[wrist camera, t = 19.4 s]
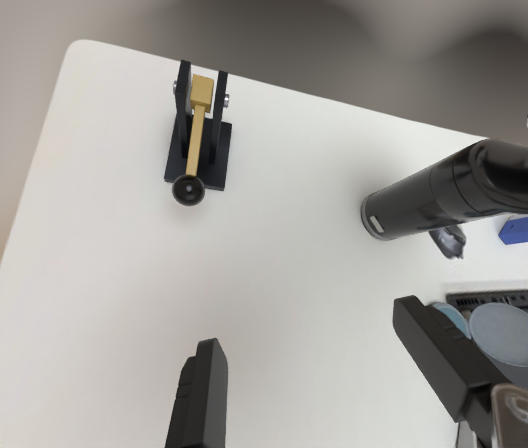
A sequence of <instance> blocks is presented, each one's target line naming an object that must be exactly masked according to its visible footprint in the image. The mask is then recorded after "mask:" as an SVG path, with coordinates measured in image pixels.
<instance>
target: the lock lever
mask: <svg viewBox="0 0 528 448" xmlns="http://www.w3.org/2000/svg"><path fill="white" fill-rule="evenodd" d="M213 85H214V80H213V79H210V78H206V77H203V76H199V75H195V74H193V80H192V87H191V94H190V104H191V109H194V117H193V124H192V131H191V139H190V146H189V153H188V160H187V168H186V174H185V175H182V176H179V177H178V178H177V179H176V180H175V181H174V183H173V185H172V194H173V196H174V198H175V200H176V201H177V202H178V203H180V204H182V205H184V206H194V205H197V204H198V203H200V202H201V201H202V200H203V198H204V195H205V186H204V184H203V182H202V181H201V180H200V179H199V178H198V177H197V176H196V174H197V167H198V159H199V152H200V145H201V138H202V130H203V123H204V116H205V112H207V113H210V110H211V103H212V96H213Z"/></svg>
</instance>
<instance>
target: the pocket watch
mask: <svg viewBox="0 0 528 448" xmlns="http://www.w3.org/2000/svg"><path fill="white" fill-rule="evenodd" d="M432 306H433V307H435V308H437V309H438V310H440V311H441V312H443V313H445V314H446V315H447V316H448V317H449V318H450V319H451V320H452V321H453V323H454V324H455V325H456V327H457V328H459V329H460V330H461V331H462V332H463V333H464V334H465V336H466V337H467V338H469V339H470V340H471V335H472V337H473V339H474V341H475V342H476V343H477V345H478V346H479V347H480V348H481V349H482V350H483V351H484V352H486V353H487V354H488V355H490V356H491V357H493V358H495V359H497V360H499V361H501V362H503V363H506V364H509V365H513V366H528V313H526V312H525V311H523V310H521V309H519V308H517V307H514V306H511V305H508V304H503V303H487V304H483V305H480V306H479V307H477V308H476V309H474V310H473V312H472V313H471V315H470V317H469V324H468V321H467V319H464V317H463V316H462V315H461V313H460V312H459V311H458V310H457V309H455V308H454V307H453V306H451V305H449V304H447V303H435V304H433V305H432ZM470 333H471V334H470Z"/></svg>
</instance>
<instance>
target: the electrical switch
mask: <svg viewBox="0 0 528 448" xmlns="http://www.w3.org/2000/svg"><path fill="white" fill-rule="evenodd" d="M457 448H474V447H473V430H472V428H471V427H470V425H469V424H468V422H467V421H462V422H461V423H460V431H459V438H458V446H457Z"/></svg>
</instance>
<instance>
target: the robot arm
mask: <svg viewBox="0 0 528 448" xmlns="http://www.w3.org/2000/svg"><path fill="white" fill-rule="evenodd" d="M527 127H528V116H527ZM502 214H519V215H528V146H526V145H521V144H517V143H514V142H510V141H507V140H503V139H496V138H491V139H485V140H481V141H479V142H477V143H474V144H472V145H470V146H468V147H466V148H464V149H462V150H460V151H458V152H456V153H454V154H452V155H450V156H448V157H446V158H444V159H442V160H441V161H439V162H437V163H435V164H433V165H431V166H429V167H427V168H425V169H423V170H421V171H419V172H417V173H415V174H413V175H411V176H409V177H407V178H405V179H403V180H401V181H399V182H397V183H395V184H393V185H391V186H389V187H387V188H384V189H382V190H380V191H378V192H376V193H373V194H371V195H369V196H368V197H367V198H366V199H365V200H364V202H363V204H362V208H361V216H362V221H363V223H364V225H365V227H366V229H367V230H368V231H369V232H370V233H371V234H372V235H373V236H374V237H376V238H378V239H380V240H392V239H396V238H399V237H403V236H408V235H413V234H417V233H422V232H426V231H431V230H435V229H440V228H444V227H449V226H453V225H458V224H462V223H467V222H471V221H475V220H480V219H484V218H489V217H493V216H497V215H502ZM393 326H394V329H395V332H396V334H397V336H398V337H399V339H400V340H401V342H402V343H403V345H404V346H405V348H406V349H407V351H408V352H409V354H410V355H411V357H412V358H413V360H414V361H415V363H416V364H417V366H418V367H419V369H420V370H421V372H422V373H423V375H424V376H425V378H426V379H427V381H428V383H429V384H430V386H431V387H432V389H433V390H434V392H435V393H436V395H437V396H438V398H439V399H440V401H441V402H442V404H443V405H444V407H445V408H446V410H447V411H448V413H449V414H450V416H451V417H452V419H453V420H454V422H455V423H457V422H462V421H467V422H468V424H469V425H470V427H471V428H472V430H473V447H474V448H528V390H527V389H525V388H523V387H520V386H518V385H515V384H513V383H512V382H511V381H509V380H508V379H507V378H506V377H505V376H504V375H503V374H502V373H501V372H500V371H499V370H498V369H497V368H496V367H495V366H494V365H493V363H492V362H491V361H490V360H489V359H488V358H487V357H486V356H485V355H484V354H483V353H482V352H481V351H480V350H479V349H478V348H477V347H476V346H475V345H474V344H473V342H472V341H471V340H470V339H469V338H467V337H466V336H465V334H464V333H463V332H462V331H461V330H460V329H459V328H457V327H456V325H455V324H454V323H453V321H452V320H451V319H450V318H449V317H448V316H447V315H446V314H445V313H443V312H441V311H440V310H438V309H437V308H435V307H433V306H432V305H429V306H424V305H423V304H422V303H421V301H420V300H419V299H418V298H417V297H416V296H414V295H411V296H406V297H402V298H397V299H395V300H394V309H393ZM178 385H179V387H178V388H177V393H176V400H175V402H174V407H173V411H172V416H171V421H170V425H169V430H168V435H167V439H166V444H165V448H225V434H226V411H227V387H228V363H227V359H226V356H225V354H224V352H223V350H222V348H221V345H220V343H219V341H218V339H217V338H212V339H208V340H203V341H200V342H199V343H198V346H197V352H196V356H193V357H189V358H188V359H187V361H186V363H185V365H184V367H183V368H182V370H181V374H180V379H179V384H178Z"/></svg>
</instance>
